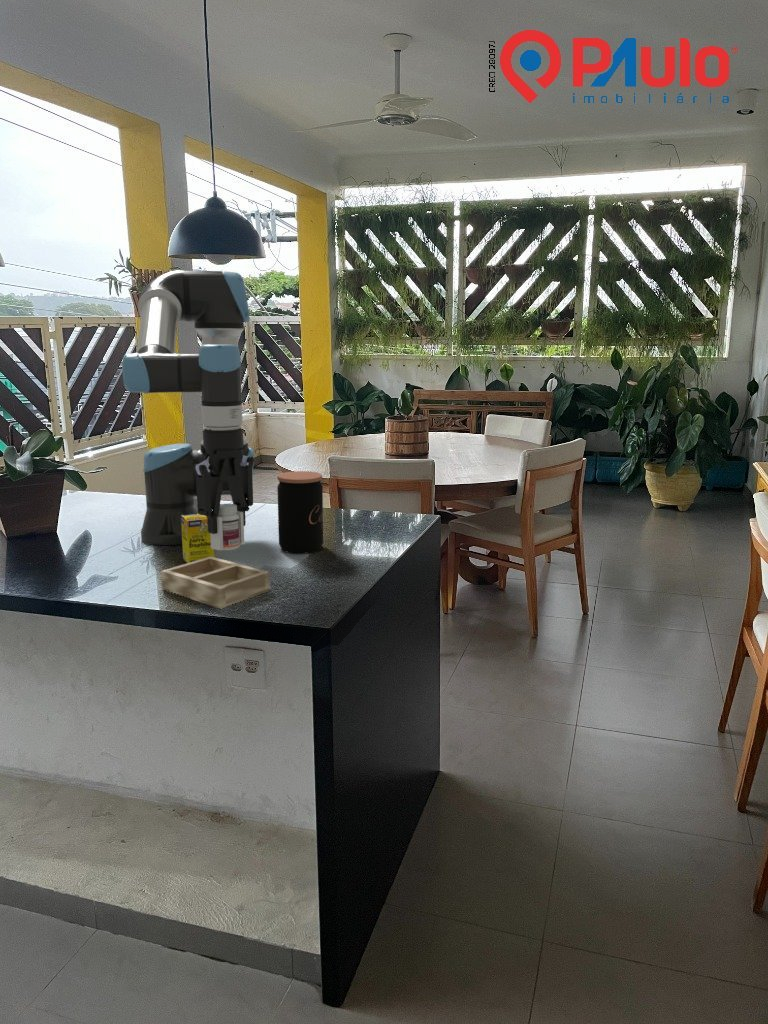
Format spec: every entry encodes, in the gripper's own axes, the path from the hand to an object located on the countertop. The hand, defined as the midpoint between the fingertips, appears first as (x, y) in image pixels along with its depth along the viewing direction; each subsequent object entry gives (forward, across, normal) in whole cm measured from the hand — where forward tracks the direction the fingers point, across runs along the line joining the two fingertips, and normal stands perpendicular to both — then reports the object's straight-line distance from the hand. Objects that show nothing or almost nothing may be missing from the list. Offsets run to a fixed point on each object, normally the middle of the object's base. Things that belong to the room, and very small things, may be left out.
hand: (227, 545), depth 150 cm
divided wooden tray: (+10, 0, +4) cm, 11 cm away
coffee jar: (+10, +33, +11) cm, 37 cm away
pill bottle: (+1, 0, 0) cm, 1 cm away
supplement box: (+10, +10, +21) cm, 26 cm away
